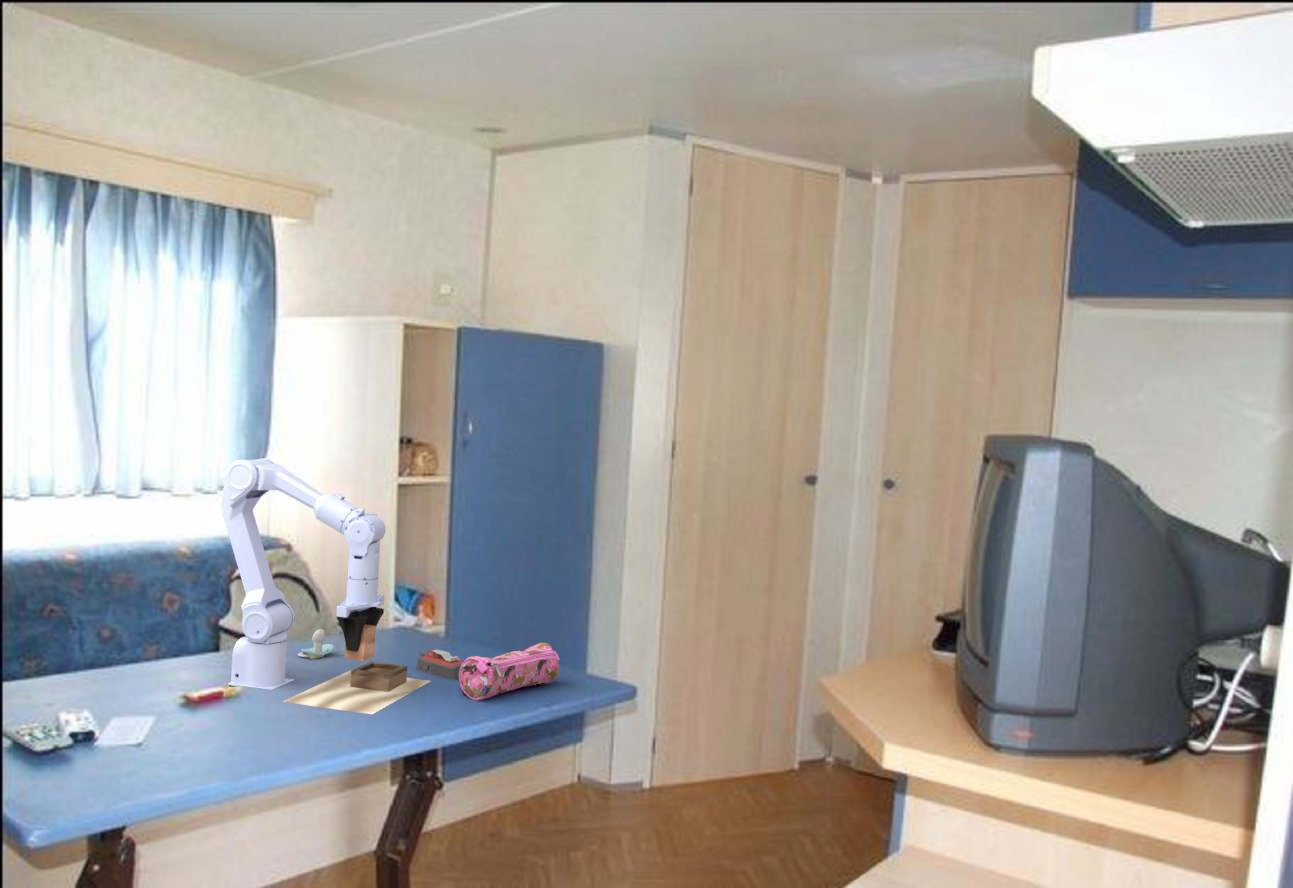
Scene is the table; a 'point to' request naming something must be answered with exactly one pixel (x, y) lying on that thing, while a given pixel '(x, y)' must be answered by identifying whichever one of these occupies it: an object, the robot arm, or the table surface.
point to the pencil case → (508, 671)
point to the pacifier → (317, 646)
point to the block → (364, 645)
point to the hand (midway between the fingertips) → (358, 648)
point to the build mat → (361, 689)
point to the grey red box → (439, 664)
